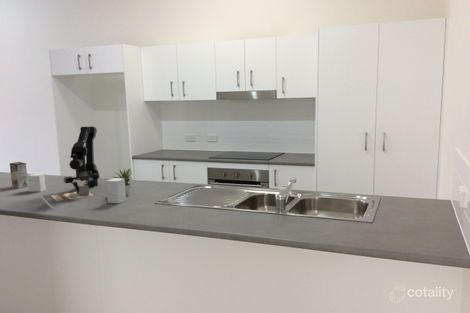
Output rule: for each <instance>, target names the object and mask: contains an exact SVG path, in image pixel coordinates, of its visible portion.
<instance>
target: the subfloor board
mask: <svg viewBox="0 0 470 313" xmlns="http://www.w3.org/2000/svg"><path fill="white" fill-rule="evenodd" d="M93 196H94V194H92V193H91V192H89V194H88V195H82V196H80V195H79V194H77V193H76V191H73V192H66V193H59V194H53V195H51V197H52V198H53V199H54V200H55V201H56V202H61V201H62V202H63V201H67V200H73V199H80V198H85V197H93Z"/></svg>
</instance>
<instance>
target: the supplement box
mask: <svg viewBox="0 0 470 313" xmlns="http://www.w3.org/2000/svg"><path fill="white" fill-rule="evenodd" d="M105 184H106V197H107V203H108V204H120V203H123V202H125V200H127V196H126V195H127V194H126V193H125V179H121V178H120V177H119V178H113V177H112V178H110V179H107V180H105Z"/></svg>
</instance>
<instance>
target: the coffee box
mask: <svg viewBox="0 0 470 313" xmlns="http://www.w3.org/2000/svg"><path fill="white" fill-rule="evenodd" d="M9 170H10V177H11V178H10V179H11V180H10V181H11V187H12V188H16V189H23V188H24V189H25V188H29V185H28V172H27V170H28V169H27V162H22V161H17V162H10V163H9Z"/></svg>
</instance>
